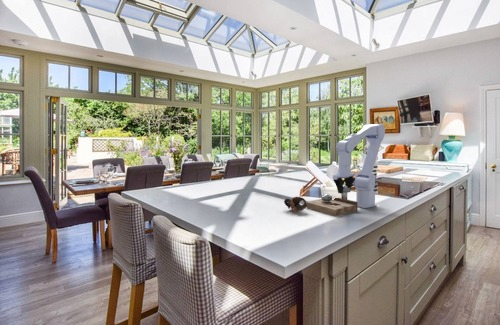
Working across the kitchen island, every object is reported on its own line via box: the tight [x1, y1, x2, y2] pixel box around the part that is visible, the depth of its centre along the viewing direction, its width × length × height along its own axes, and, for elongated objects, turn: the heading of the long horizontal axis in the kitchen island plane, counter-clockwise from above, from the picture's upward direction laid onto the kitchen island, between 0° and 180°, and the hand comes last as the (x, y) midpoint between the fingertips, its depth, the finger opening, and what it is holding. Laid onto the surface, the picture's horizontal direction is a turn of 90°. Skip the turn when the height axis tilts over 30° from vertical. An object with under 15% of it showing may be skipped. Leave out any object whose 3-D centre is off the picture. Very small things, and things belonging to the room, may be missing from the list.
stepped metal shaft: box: [340, 184, 351, 200], centre depth 144 cm, size 5×5×7 cm
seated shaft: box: [320, 193, 332, 203], centre depth 152 cm, size 5×5×7 cm
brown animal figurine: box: [283, 196, 307, 214], centre depth 148 cm, size 12×10×8 cm
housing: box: [306, 197, 359, 217], centre depth 150 cm, size 16×20×4 cm
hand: (344, 192), depth 144 cm, fingers closed on stepped metal shaft, 5 cm apart
